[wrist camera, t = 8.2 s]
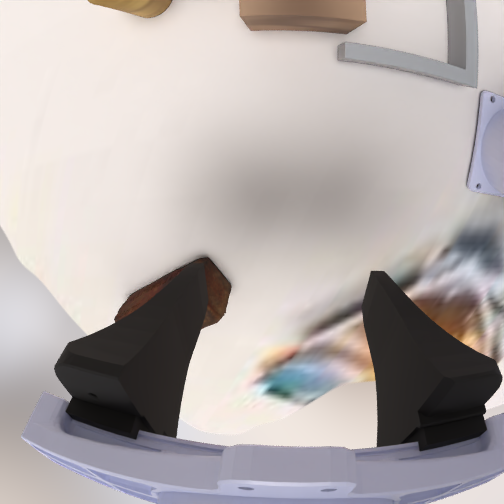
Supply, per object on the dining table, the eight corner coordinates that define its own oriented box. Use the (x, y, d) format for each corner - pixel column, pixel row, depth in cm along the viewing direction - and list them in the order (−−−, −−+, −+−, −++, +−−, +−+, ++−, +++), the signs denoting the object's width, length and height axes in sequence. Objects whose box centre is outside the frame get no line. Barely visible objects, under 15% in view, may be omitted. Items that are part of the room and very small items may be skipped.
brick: (205, 250, 25) (189, 286, 21) (233, 284, 26) (223, 323, 22) (126, 294, 29) (107, 327, 25) (152, 320, 30) (137, 354, 26)
